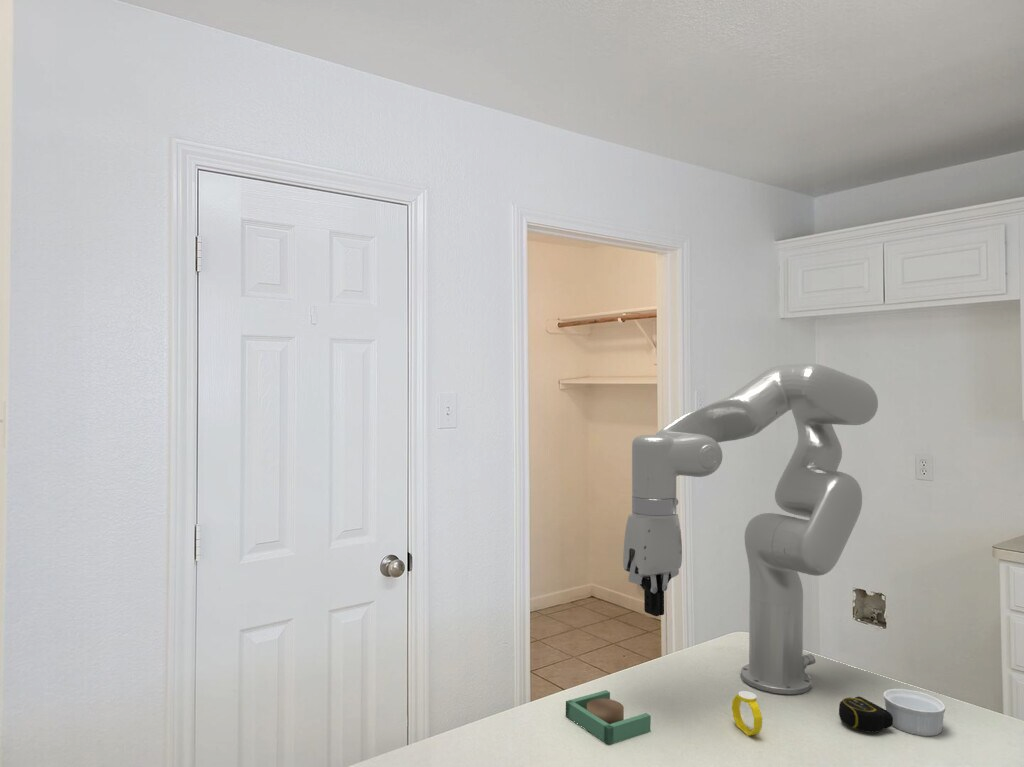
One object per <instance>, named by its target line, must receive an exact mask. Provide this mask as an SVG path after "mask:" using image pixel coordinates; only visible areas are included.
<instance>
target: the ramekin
mask: <svg viewBox="0 0 1024 767" xmlns="http://www.w3.org/2000/svg"><path fill="white" fill-rule="evenodd" d="M883 699H884V703H885V705H884V706H885V710H886V711H888V712H889V713H890V714H891V715H892V717H893V724H892V726H893V727H894V728H895V729H898V730H900V731H901V732H905V733H906V734H907V733H908V734H911V735H914V736H921V737H933V736H934V737H935V736H937V735H940V734H941V733H942V730H943V724H944V713H945V711H946V705H945V704H944V702H942V700H940V699H938V698H937V697H934V696H933V695H931V694H928V693H924V692H922V691H916V690H912V689H907V688H906V689H905V688H892V689H887V690H885V691H884V692H883ZM892 726H891V727H892Z"/></svg>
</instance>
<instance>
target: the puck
mask: <svg viewBox="0 0 1024 767" xmlns="http://www.w3.org/2000/svg"><path fill="white" fill-rule="evenodd" d="M624 709H625V707H624V704H622V703H621V702H619V701H617V700H614V699H611V698H610V699H604V698H600V699H594V700H591V701H589V702H588V703H587V711H589V712H591V713H592V714H594V715H595V716H597V717H599V718H600V719H602V720H603V721H605V722H606V723H608V724H612V723H615V722H618V721H622V720H625V718H624V716H625V715H624V714H625V713H624V712H625V710H624Z"/></svg>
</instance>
